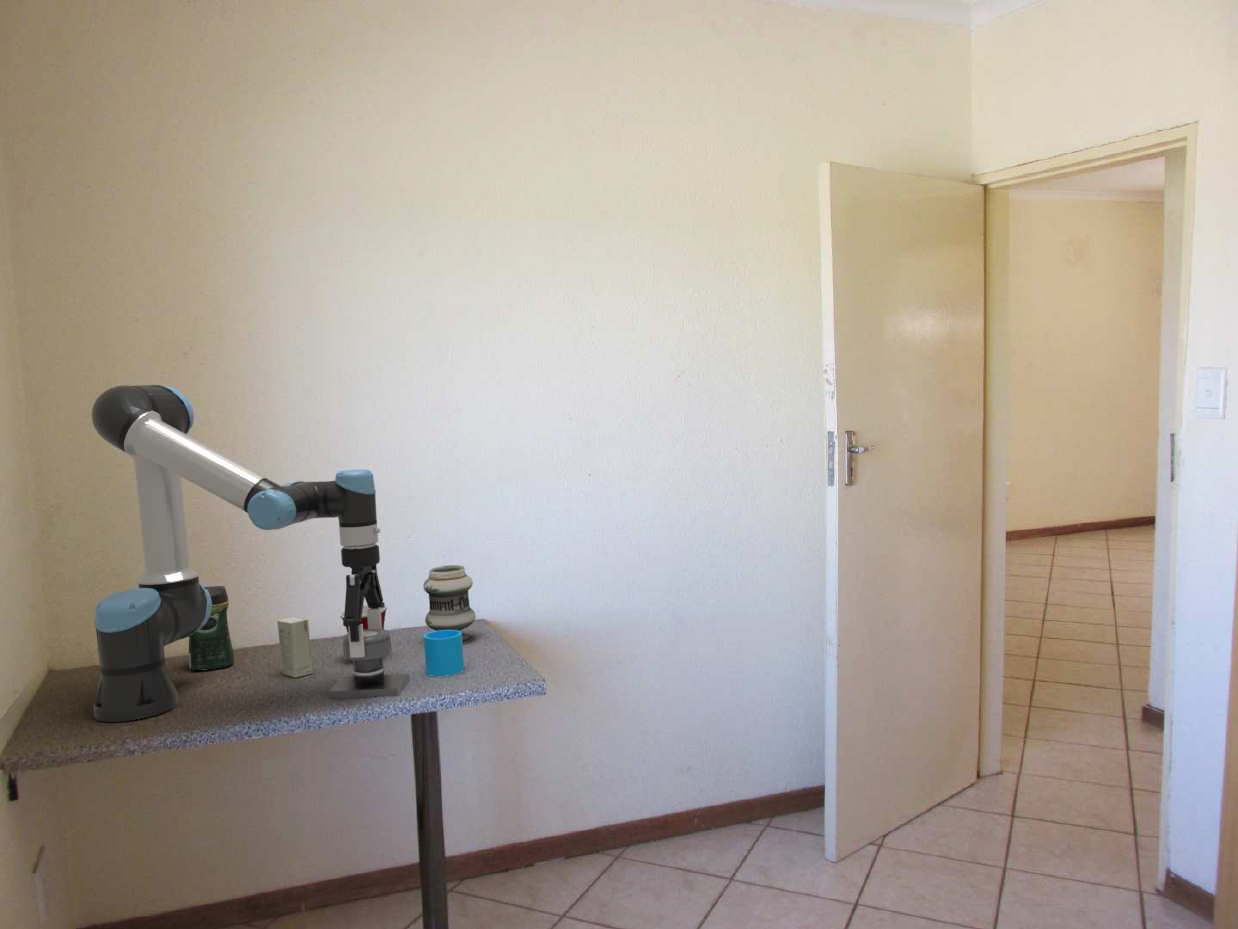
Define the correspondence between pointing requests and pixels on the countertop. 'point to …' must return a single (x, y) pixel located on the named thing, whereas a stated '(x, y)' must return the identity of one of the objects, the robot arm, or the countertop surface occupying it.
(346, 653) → the cap
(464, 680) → the countertop surface
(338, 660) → the countertop surface
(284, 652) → the skincare box
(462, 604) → the apothecary jar
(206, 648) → the coffee jar
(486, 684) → the countertop surface
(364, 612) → the plastic cup
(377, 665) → the gray flat-based fixture
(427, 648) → the mug
